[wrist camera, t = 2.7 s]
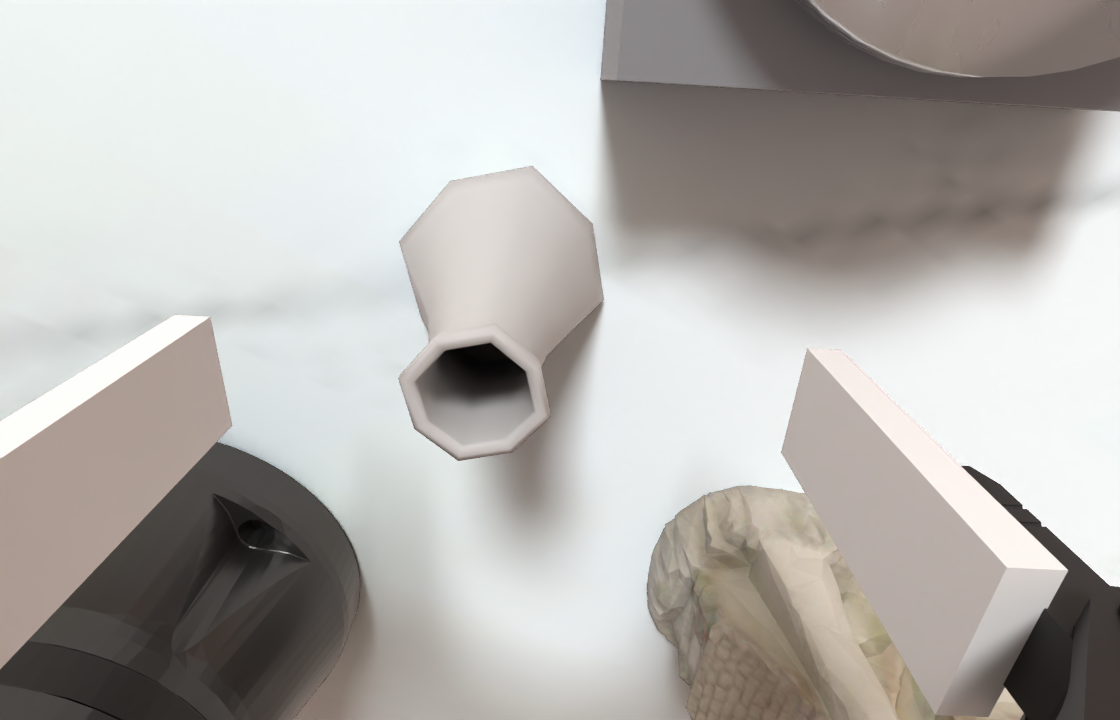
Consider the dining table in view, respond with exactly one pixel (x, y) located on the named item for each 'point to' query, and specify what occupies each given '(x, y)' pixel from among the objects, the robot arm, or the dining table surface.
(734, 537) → the ceramic cottage
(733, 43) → the base
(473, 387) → the flask
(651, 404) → the dining table surface
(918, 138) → the dining table surface
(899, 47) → the scale pan
